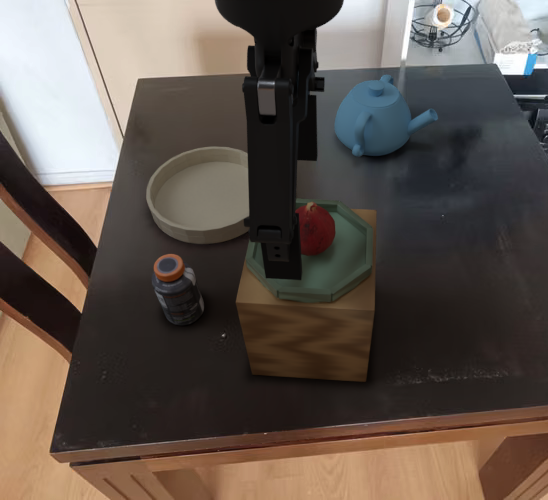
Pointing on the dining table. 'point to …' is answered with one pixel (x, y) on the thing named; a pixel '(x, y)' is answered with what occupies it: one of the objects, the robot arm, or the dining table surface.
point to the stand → (314, 305)
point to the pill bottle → (177, 290)
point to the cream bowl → (201, 195)
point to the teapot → (377, 118)
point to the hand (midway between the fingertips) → (294, 211)
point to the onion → (315, 229)
